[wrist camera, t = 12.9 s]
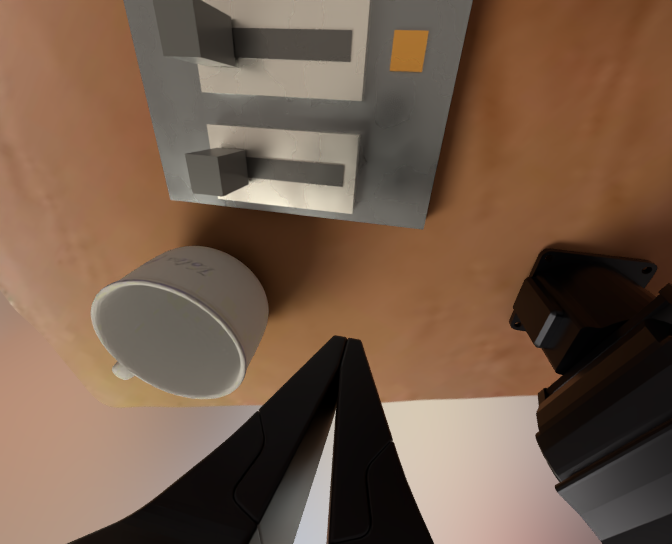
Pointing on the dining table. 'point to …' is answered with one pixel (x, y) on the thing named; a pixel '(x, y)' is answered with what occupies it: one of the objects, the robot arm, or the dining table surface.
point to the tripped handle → (195, 32)
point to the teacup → (184, 322)
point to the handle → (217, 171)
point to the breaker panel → (313, 103)
